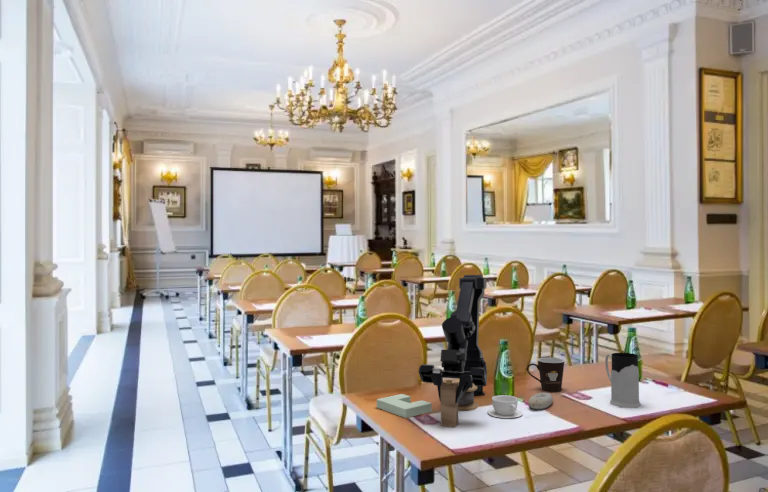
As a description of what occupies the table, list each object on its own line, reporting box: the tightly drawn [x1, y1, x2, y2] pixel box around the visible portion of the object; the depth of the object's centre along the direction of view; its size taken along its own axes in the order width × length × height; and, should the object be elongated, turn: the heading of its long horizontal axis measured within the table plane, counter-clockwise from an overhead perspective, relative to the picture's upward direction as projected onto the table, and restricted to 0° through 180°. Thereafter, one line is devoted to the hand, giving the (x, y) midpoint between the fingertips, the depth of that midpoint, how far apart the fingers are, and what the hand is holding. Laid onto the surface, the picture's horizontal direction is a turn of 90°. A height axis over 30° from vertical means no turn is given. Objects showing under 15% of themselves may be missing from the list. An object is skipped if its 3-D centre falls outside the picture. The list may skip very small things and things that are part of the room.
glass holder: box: [605, 352, 642, 409], centre depth 182 cm, size 9×14×15 cm, turn 12°
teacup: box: [487, 394, 523, 419], centre depth 171 cm, size 10×10×5 cm
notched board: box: [376, 393, 433, 419], centre depth 176 cm, size 10×14×2 cm
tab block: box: [440, 379, 459, 428], centre depth 161 cm, size 4×4×12 cm
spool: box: [453, 381, 478, 412], centre depth 179 cm, size 9×9×6 cm
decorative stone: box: [528, 392, 554, 410], centre depth 179 cm, size 6×16×3 cm, turn 150°
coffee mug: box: [526, 357, 565, 393], centre depth 198 cm, size 12×9×10 cm
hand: (448, 401), depth 160 cm, fingers closed on tab block, 4 cm apart
